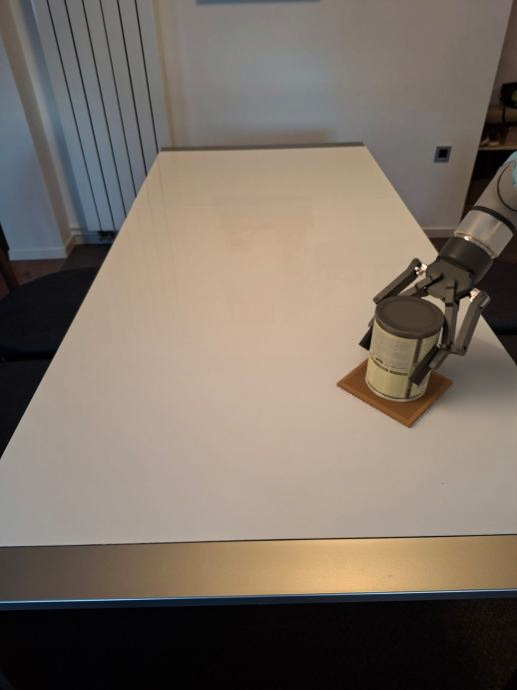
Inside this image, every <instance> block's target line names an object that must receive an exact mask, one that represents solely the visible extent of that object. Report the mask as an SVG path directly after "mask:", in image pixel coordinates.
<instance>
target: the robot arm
mask: <svg viewBox="0 0 517 690" xmlns="http://www.w3.org/2000/svg"><path fill="white" fill-rule="evenodd" d="M516 232H517V150H516V151H514V152H513V153H511V155H509V157H508V158H507V159H506V161H504V162H503V164H502V165H500V167H499V168H498V169H497V170H496V173H495V175H494V176H493V178H492V179H491V181H490V182H489V184H488V185H487V186H486V188H485V189H484V191H483V192H482V193H481V195H480V196H479V198H478V199H477V201H476V202H475V203H474V205H473V206H472V207H471V209H470V210H469V211H468V212H467V214H466V215H465V216H464V218H463V219H462V220H461V222H460V223H459V224H458V226H457V227H456V229H454V232H453V235H454V236H451V237H449V238H448V240H447V241H446V242H445V244H444V245H443V247H442V248H441V250H440V251H439V252H438V254H437V256H436V258H435V259H434V261H433V262H430V263H429V264H427V263H426V262H425V263H424V262H423V261H421V260H420V259H419V258H418V257H414V258H412V260H411V262H409V264H408V266H407V267H406V269H405V270H404V271H403V272H401V273H400V274H399V275H398V276H396V278H394V279H393V280H392V281H391V282H390V283H389V284H387V285H386V286H385V287H383V289H382V290H380V291H379V292H378V293H377V294H376V295H375V296H374V297H373V298H372V302H373V303H374V304H375V306H377V304H378V303H379V302H380V301H382V300H384V299H386V298H389V297H393V296H401V295H403V296H414V297H419V298H422V299H423V298H426V297H429V296H431V297H432V298H434V299H438V300H440V301H441V303H443V304H444V312H443V313H444V317H445V321H444V325H443V327H442V328H441V337H440V343H438V345H437V346H436V345H435V344H434V346H433V347H432V348H431V350H430V351H429V352H428V354H427V355H426V356H425V358H424V359H423V360H422V362H421V363H420V364H419V366H418V367H417V368H416V370H415V371H414V372H413V374H412V375H411V376H410V378H409V380H410V381H411V382H413V383H414V384H416V385H417V386H419V385H420V383H421V382H422V381H423V379H424V378H425V377H426V375H427V374H428V373H429V371H430V370H432V371H434V372H436V371H437V370H439V369H440V367H441V366H442V365H443V363H444V362H445V361H446V360H447V358H448V357H449V356H450V355H455V356H459V357H465V355H466V354H467V352H468V349H469V347H470V344H471V341H472V340H473V339H472V338H473V336H474V333H475V332H476V328H477V326H478V323H479V320H480V318H481V316H482V313H483V311H484V310H485V308H486V307H487V306H488V305H489V304H490V303H491V297H490V296H489V294H488V293H487V291H486V290H479V288H477V284H478V283H479V282H480V281H481V280H482V278H484V276H485V275H486V273H487V272H488V271H489V270H490V268H491V267H492V265H493V263H494V262H493V260H494V259H497V258H498V257H499V256H500V254H501V253H502V252H503V250H504V249H505V247H506V246H507V245H508V243H509V242H510V241H511V239H512V238H513V237H514V235H515V234H516ZM424 274H425V277H423V279H421V280H419V281H417V282H416V283H415V284H414V285H413V286H411V287H409V286H410V285H411V284H412V283H414V282H415V281H416V280H417V278H419V277H421V276H423V275H424ZM408 287H409V288H408ZM407 288H408V289H407ZM468 297H470V298H469V299H470V303H469V305H468V308H467V310H466V313H465V315H464V318H463V320H462V323H461V326H460V328H459V330H458V334H457V336H456V330H457V325H458V323H457V322H458V315H459V312H460V305H461V300H463V299H466V298H468ZM374 319H375V314H374V315H373V316H372V318H371V319H370V321H369V322H368V323H367V327H368V328H369V329H368V330H367V332H366V333H365V334H364V336H363V337H362V338H361V340H360V341H359V342H358V345H359V346H360V347H361V348H363V349H364V350H365V351H367V352H370V346H371V339H372V333H373V326H374Z"/></svg>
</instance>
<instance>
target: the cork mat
mask: <svg viewBox="0 0 517 690" xmlns="http://www.w3.org/2000/svg"><path fill="white" fill-rule="evenodd" d="M368 359H369V357H368V358H366V359H364V360H363V361H362V362H361V363H360V364H359V365H357V366H356V367H355V368H353V369H352V370H351V371H350V372H348V373H347V374H346V375H345V376H344V377H343V378H341V379H340V380H338V382H336V386H337V387H338V388H341V389H342V390H343V391H346V392H347V393H349V394H351V395H352V396H354V397H356V398H357V399H359V400H361V401H362V402H364V403H366V404H367V405H369V406H371V407H372V408H375V409H376V410H377V411H379V412H381V413H383V414H385V415H386V416H388V417H389V418H391V419H393V420H395V421H397V422H398V423H400V424H402V425H403V426H405V427H406V428H408V429H409V428H410V427H411V426H412V425H413V424H414V423H415V422H416V421H417V420H418V419H419V418H420V417H421V416H422V415H423V414H424V413H425V412H426V411H427V410H428V408H430V407H431V406H432V405H433V404H434V403H435V402H436V401H437V400H438V399H439V398H440V397H441V396H442V395H443V394H444V393H445V391H447V390H448V389H449V388H450V387H451V386H452V385H453V383H454V380H452V379H450V378H449V377H446V376H444V375H443V374H441V373H438V372H436V371H435V370H433V369H431V371H430V375H429V379H428V383H427V389H426V391H425V393H424V394H423V395H422V396H421V397H420V398H418V399H416V400H414V401H409V402H395V401H390V400H386V399H384V398H381V397H379V396H378V395H376V394H375V393H374V392H373V391H371V390H370V388H369V387H368V385H367V383H366V379H365V376H366V372H367V366H368Z"/></svg>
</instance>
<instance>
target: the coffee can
mask: <svg viewBox="0 0 517 690" xmlns="http://www.w3.org/2000/svg"><path fill="white" fill-rule="evenodd" d="M444 313H445V312H444V311H443V310H442V309H441V308H440V307H439V306H438V305H437V304H435V303H433V302H432V301H430V300H428V299H426V298H423V297H422V298H419V297H414V296H403V295H401V296H393V297H389V298H386V299H384V300H382V301H380V302H379V303H378V304H377V305H375V308H374V315H375V319H374V326H373V333H372V339H371V346H370V350H369V353H368V358H369V359H368V366H367V372H366V376H365V379H366V383H367V385H368V387H369V388H370V390H371V391H373V392H374V393H375V394H376V395H378V396H379V397H381V398H384V399H386V400H390V401H395V402H409V401H414V400H416V399H418V398H420V397H421V396H422V395H423V394H424V393H425V391H426V389H427V383H428V379H429V375H430V371H431V370H432V369H431V370H430V371H429V373H428V374H427V375H426V377H425V378H424V379H423V381H422V382H421V383H420V385H419V386H417V385H416V384H414V383H413V382H411V381H410V380H409V378H410V376H411V375H412V374H413V372H414V371H415V370H416V368H417V367H418V366H419V364H420V363H421V362H422V360H423V359H424V358H425V356H426V355H427V354H428V352H429V351H430V350H431V348H432V347H433V346H434V344H435V345H436V346H438V345H439V340H440V335H441V333H442V329H443V325H444V321H445V317H444Z"/></svg>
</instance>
